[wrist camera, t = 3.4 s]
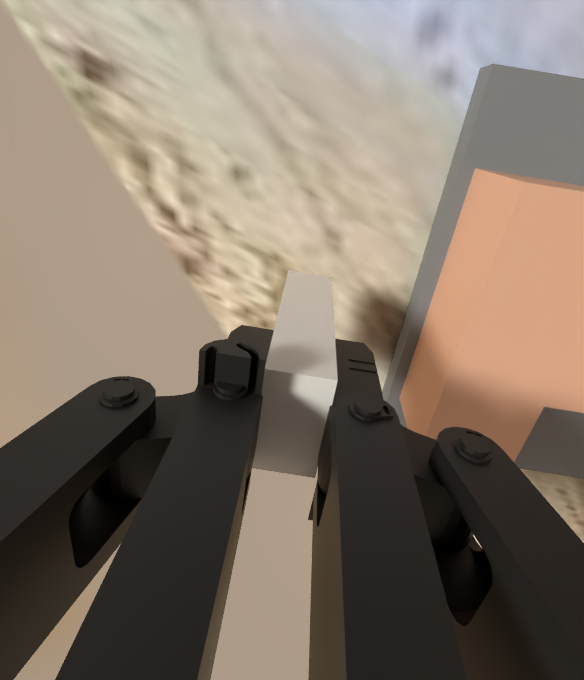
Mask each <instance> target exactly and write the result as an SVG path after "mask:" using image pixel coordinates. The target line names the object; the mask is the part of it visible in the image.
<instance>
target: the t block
mask: <svg viewBox="0 0 584 680" xmlns="http://www.w3.org/2000/svg"><path fill="white" fill-rule="evenodd" d="M399 399H400V403H401V406H402V410H403V414H404V417H405V421H406V425H407V428H408V429H410V430H412V431H414V432H416V433H419V434H422V435H424V436H427V437H430V438H432V439H435V440H436V439H437V436H438V434H439V432H441V431H442V430H443V429H445V428H449V427H462V428H468V429H471V430H474V431H477V432H479V433H481V434H483V435H485V436H486V437H488V438H490V439H491V440H493V441H494V442H495V443H496V444H497V445H498V446H500V447H501V448H502V449H503V450H504V451H505V453H506V454H507V455H508V456H509V457H510V458H511V460H512V461H513V462H514V461H515V460H516V458H517V456H518V454H519V452H520V450H521V449H522V447H523V445H524V443H525V441H526V439H527V437H528V436H529V434H530V432H531V430H532V428H533V426H534V425H535V423H536V421H537V419H538V417H539V415H540V414H541V412H542V410H543V408H544V407H549V408H556V409H562V410H568V411H574V412H580V413H584V187H583V186H579V185H575V184H570V183H564V182H557V181H551V180H545V179H539V178H533V177H527V176H521V175H514V174H508V173H502V172H496V171H490V170H484V169H478V168H475V170H474V173H473V176H472V179H471V182H470V185H469V188H468V191H467V194H466V197H465V200H464V203H463V206H462V209H461V212H460V215H459V218H458V221H457V224H456V228H455V231H454V234H453V237H452V240H451V243H450V246H449V249H448V252H447V255H446V258H445V261H444V264H443V267H442V270H441V273H440V276H439V279H438V282H437V285H436V288H435V291H434V294H433V297H432V300H431V303H430V306H429V309H428V312H427V315H426V318H425V321H424V324H423V328H422V331H421V334H420V337H419V340H418V343H417V346H416V349H415V352H414V355H413V358H412V361H411V364H410V367H409V370H408V373H407V376H406V379H405V382H404V385H403V388H402V391H401V394H400V397H399Z"/></svg>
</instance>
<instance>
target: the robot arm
mask: <svg viewBox="0 0 584 680" xmlns="http://www.w3.org/2000/svg"><path fill="white" fill-rule="evenodd" d="M317 467H318V480H317V484H316V488H315V493H314V497H313V501H312V505H311V510H310V514H309V518H308V519H309V520H313V542H312V578H311V580H312V581H311V613H310V614H311V615H310V652H309V680H584V543H583V542H582V541H581V540H580V538H579V537H578V536H577V535H576V534H575V533H574V531H573V530H572V529H571V528H570V527H569V526H568V525H567V523H566V522H565V521H564V520H563V519H562V518H561V516H560V515H559V514H558V513H557V512H556V511H555V509H554V508H553V507H552V506H551V505H550V504H549V502H548V501H547V500H546V499H545V498H544V497H543V496H542V494H541V493H540V492H539V491H538V490H537V489H536V487H535V486H534V485H533V484H532V483H531V482H530V480H529V479H528V478H527V477H526V476H525V475H524V473H523V472H522V471H521V470H520V469H519V468H518V467H517V465H516V464H515V463H514V462H513V461H512V460H511V458H510V457H509V456H508V455H507V454H506V453H505V451H504V450H503V449H502V448H501V447H500V446H498V445H497V444H496V443H495V442H494V441H493V440H491V439H490V438H488V437H486V436H485V435H483V434H481V433H479V432H477V431H474V430H471V429H468V428H462V427H449V428H445V429H443V430H442V431H441V432H439V434H438V436H437V439H436V440H435V439H432V438H430V437H427V436H424V435H422V434H419V433H416V432H414V431H412V430H410V429H407V428H406V427H404V426H402V425H401V424H400V420H399V417H398V415H397V413H396V411H395V409H394V408H393V407H392V406H391V405H390V404H389V403H387V402H386V401H384V400H383V395H382V391H381V386H380V382H379V378H378V374H377V369H376V365H375V360H374V356H373V353H372V352H371V351H370V349H369V348H368V347H367V346H366V345H365V344H364V343H359V342H353V341H346V340H340V339H335V328H334V311H333V295H332V279H331V277H328V276H322V275H315V274H309V273H303V272H297V271H290V270H288V274H287V278H286V283H285V287H284V291H283V295H282V299H281V303H280V307H279V311H278V316H277V320H276V324H275V328H274V330H269V329H263V328H257V327H250V326H244V325H241V326H240V327H238V328H236V329H235V330H233V331H232V332H231V333H230V335H229V337H228V339H225V340H217V341H213V342H211V343H208V344H206V345H204V346H203V347H202V348H201V349H200V351H199V372H198V386H197V388H196V390H195V391H194V392H191V393H188V394H184V395H176V396H159V397H155V389H154V388H153V386H152V385H151V384H150V383H149V382H146V381H144V380H143V379H140V378H135V377H129V376H127V377H124V376H123V377H112V378H109V379H105V380H101V381H99V382H97V383H95V384H93V385H91V386H89V387H88V388H86V389H85V390H83V391H82V392H80V393H79V394H78V395H76V396H75V397H73V398H72V399H70V400H69V401H67V402H66V403H65V404H63V405H62V406H60V407H59V408H57V409H56V410H55V411H53V412H52V413H50V414H49V415H47V416H46V417H44V418H43V419H42V420H40V421H39V422H37V423H36V424H34V425H33V426H31V427H30V428H29V429H27V430H26V431H24V432H23V433H21V434H20V435H19V436H17V437H16V438H14V439H13V440H11V441H10V442H8V443H7V444H6V445H4V446H3V447H2V448H0V680H13V679H14V678H15V677H16V676H17V674H18V673H19V672H20V670H21V669H22V668H23V667H24V665H25V664H26V663H27V661H28V660H29V659H30V658H31V656H32V655H33V654H34V652H35V651H36V650H37V649H38V648H39V646H40V645H41V644H42V642H43V641H44V640H45V639H46V637H47V636H48V635H49V634H50V632H51V631H52V630H53V629H54V627H55V626H56V625H57V623H58V622H59V621H60V620H61V618H62V617H63V616H64V615H65V613H66V612H67V611H68V609H69V608H70V607H71V606H72V604H73V603H74V602H75V601H76V599H77V598H78V597H79V596H80V594H81V593H82V592H83V590H84V589H85V588H86V587H87V585H88V584H89V583H90V582H91V580H92V579H93V578H94V576H95V575H96V574H97V573H98V571H99V570H100V569H101V568H102V566H103V565H104V564H105V563H106V561H107V560H108V559H109V558H110V556H111V555H112V554H113V552H114V551H115V550H116V549H117V547H118V546H119V544H121V545H120V547H119V549H118V551H117V553H116V555H115V557H114V559H113V562H112V564H111V565H110V568H109V570H108V572H107V574H106V576H105V578H104V580H103V582H102V584H101V586H100V588H99V590H98V592H97V594H96V596H95V598H94V601H93V603H92V605H91V607H90V609H89V611H88V613H87V615H86V617H85V619H84V621H83V623H82V625H81V627H80V630H79V632H78V634H77V636H76V638H75V640H74V642H73V644H72V646H71V648H70V650H69V652H68V654H67V656H66V659H65V660H64V663H63V665H62V667H61V669H60V671H59V673H58V675H57V677H56V679H55V680H210V678H211V673H212V668H213V663H214V658H215V653H216V648H217V643H218V638H219V633H220V628H221V623H222V619H223V614H224V608H225V604H226V599H227V594H228V589H229V584H230V579H231V574H232V568H233V564H234V559H235V554H236V549H237V544H238V539H239V534H240V529H241V524H242V519H243V515H244V510H245V505H246V500H247V495H248V490H249V484H250V476H251V469H252V468H256V469H262V470H269V471H275V472H281V473H288V474H294V475H300V476H307V477H313V478H315V475H316V471H317ZM473 534H474V535H475V537H476V539H477V540H478V542H479V543H480V545H481V547H482V548H483V549H482V548H481V547H480V546H479V544H478V543H477V542H476V540H475V538H474V537H473ZM121 542H122V543H121Z"/></svg>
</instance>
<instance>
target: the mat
mask: <svg viewBox="0 0 584 680" xmlns="http://www.w3.org/2000/svg"><path fill="white" fill-rule="evenodd" d="M475 168H478V169H484V170H490V171H496V172H502V173H508V174H514V175H521V176H527V177H533V178H539V179H545V180H551V181H557V182H564V183H570V184H575V185H579V186H583V187H584V79H582V78H576V77H570V76H564V75H558V74H551V73H545V72H539V71H533V70H527V69H521V68H515V67H509V66H503V65H497V64H491V65H489V66H486V67H483V68H481V69H480V71H479V75H478V78H477V81H476V84H475V88H474V91H473V94H472V98H471V101H470V104H469V108H468V111H467V114H466V117H465V121H464V124H463V127H462V131H461V134H460V137H459V141H458V144H457V147H456V150H455V154H454V157H453V160H452V164H451V167H450V170H449V174H448V177H447V180H446V183H445V187H444V190H443V193H442V197H441V200H440V203H439V207H438V210H437V213H436V216H435V220H434V223H433V226H432V230H431V233H430V236H429V239H428V243H427V246H426V249H425V253H424V256H423V259H422V263H421V266H420V269H419V272H418V276H417V279H416V282H415V286H414V289H413V292H412V296H411V299H410V302H409V305H408V309H407V312H406V315H405V319H404V322H403V325H402V329H401V332H400V335H399V338H398V342H397V345H396V348H395V352H394V355H393V358H392V362H391V365H390V368H389V371H388V375H387V378H386V381H385V385H384V388H383V391H382V395H383V400H384V401H386V402H387V403H389V404H390V405H391V406H392V407H393V408H394V409H395V411H396V413H397V415H398V417H399V420H400V424H401V425H402V426H404V427H406V428H407V425H406V421H405V417H404V414H403V410H402V406H401V403H400V399H399V397H400V394H401V391H402V388H403V385H404V382H405V379H406V376H407V373H408V370H409V367H410V364H411V361H412V358H413V355H414V352H415V349H416V346H417V343H418V340H419V337H420V334H421V331H422V328H423V324H424V321H425V318H426V315H427V312H428V309H429V306H430V303H431V300H432V297H433V294H434V291H435V288H436V285H437V282H438V279H439V276H440V273H441V270H442V267H443V264H444V261H445V258H446V255H447V252H448V249H449V246H450V243H451V240H452V237H453V234H454V231H455V228H456V224H457V221H458V218H459V215H460V212H461V209H462V206H463V203H464V200H465V197H466V194H467V191H468V188H469V185H470V182H471V179H472V176H473V173H474V170H475ZM407 429H408V428H407ZM514 463H515V464H516V465H517V467H518V468H521V469H528V470H534V471H540V472H546V473H552V474H559V475H565V476H571V477H577V478H583V479H584V413H580V412H574V411H568V410H562V409H556V408H549V407H544V408H543V410H542V412H541V414H540V415H539V417H538V419H537V421H536V423H535V425H534V426H533V428H532V430H531V432H530V434H529V436H528V437H527V439H526V441H525V443H524V445H523V447H522V449H521V450H520V452H519V454H518V456H517V458H516V460H515V461H514Z"/></svg>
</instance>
